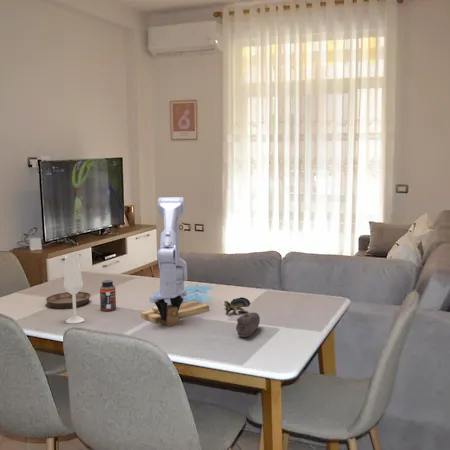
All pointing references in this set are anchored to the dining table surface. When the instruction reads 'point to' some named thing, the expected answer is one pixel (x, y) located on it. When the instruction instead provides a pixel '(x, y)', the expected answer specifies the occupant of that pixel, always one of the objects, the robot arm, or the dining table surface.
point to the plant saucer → (67, 299)
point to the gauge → (169, 315)
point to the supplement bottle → (107, 296)
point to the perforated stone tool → (247, 324)
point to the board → (184, 310)
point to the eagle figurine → (236, 305)
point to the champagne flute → (73, 282)
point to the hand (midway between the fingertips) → (169, 318)
